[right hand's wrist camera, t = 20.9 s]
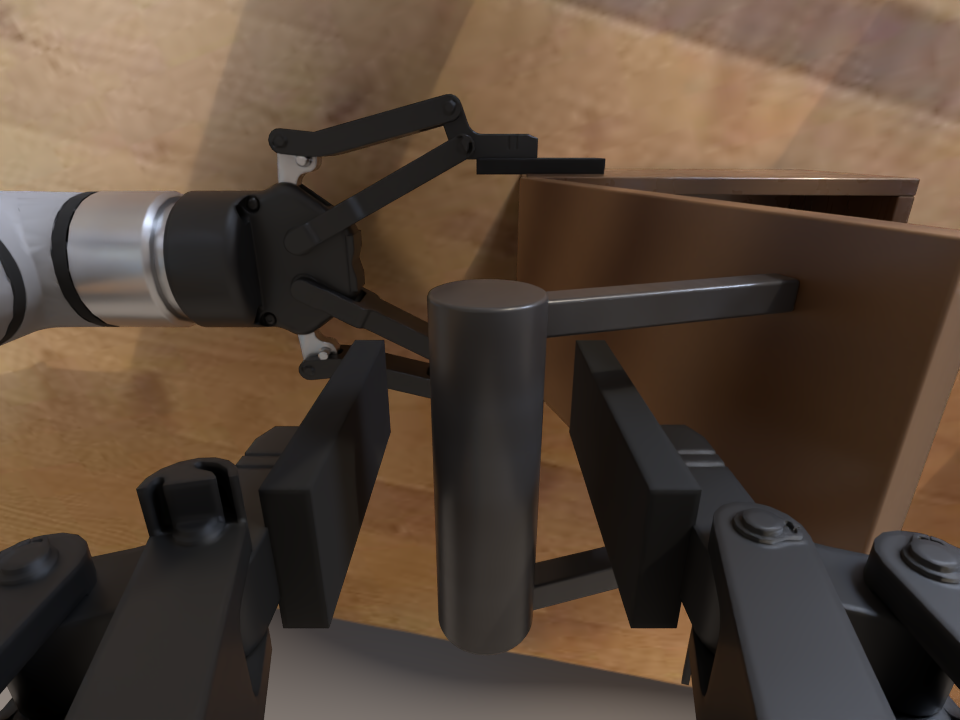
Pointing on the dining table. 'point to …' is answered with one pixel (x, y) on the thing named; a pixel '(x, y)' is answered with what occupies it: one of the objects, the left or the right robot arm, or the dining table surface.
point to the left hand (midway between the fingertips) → (591, 260)
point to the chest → (771, 188)
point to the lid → (685, 373)
